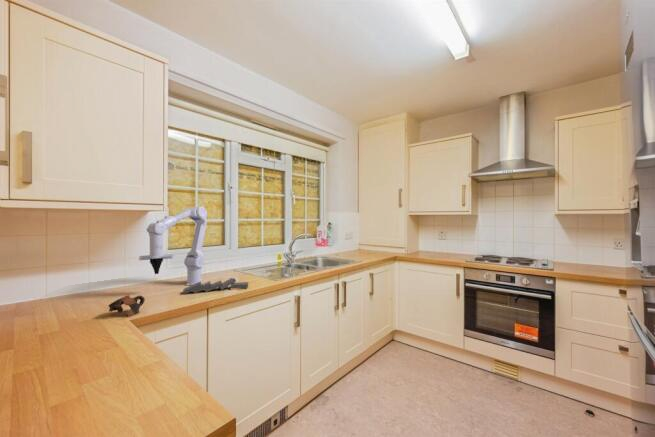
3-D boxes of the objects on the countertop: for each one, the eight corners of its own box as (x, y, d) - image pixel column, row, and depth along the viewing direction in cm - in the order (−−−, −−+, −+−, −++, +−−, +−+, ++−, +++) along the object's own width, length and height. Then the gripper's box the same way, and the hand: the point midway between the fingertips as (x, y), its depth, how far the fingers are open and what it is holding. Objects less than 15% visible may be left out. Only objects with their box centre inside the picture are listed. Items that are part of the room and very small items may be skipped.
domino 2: (193, 288, 144) (209, 281, 147) (194, 291, 145) (211, 283, 148) (192, 290, 140) (210, 283, 143) (194, 293, 140) (211, 286, 143)
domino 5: (232, 282, 152) (248, 282, 153) (232, 285, 152) (248, 285, 153) (230, 285, 147) (247, 284, 148) (230, 288, 147) (247, 287, 148)
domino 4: (217, 285, 148) (231, 277, 154) (218, 288, 149) (232, 280, 154) (220, 287, 145) (234, 278, 150) (221, 289, 145) (236, 281, 150)
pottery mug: (121, 321, 105) (110, 302, 105) (113, 327, 110) (102, 309, 110) (152, 304, 115) (142, 287, 115) (143, 310, 120) (133, 294, 120)
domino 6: (229, 286, 151) (245, 284, 154) (229, 289, 151) (245, 287, 154) (230, 288, 146) (247, 286, 150) (230, 291, 146) (247, 289, 150)
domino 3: (204, 287, 146) (220, 280, 150) (205, 290, 146) (221, 283, 150) (204, 289, 142) (221, 282, 145) (205, 292, 142) (222, 285, 146)
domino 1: (183, 288, 143) (200, 281, 146) (185, 291, 143) (201, 284, 146) (182, 291, 138) (200, 283, 141) (184, 294, 138) (201, 286, 141)
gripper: (137, 248, 134) (137, 276, 134) (171, 246, 139) (171, 274, 139) (141, 246, 141) (141, 273, 141) (173, 245, 146) (173, 271, 146)
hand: (156, 273), depth 141 cm, fingers closed
